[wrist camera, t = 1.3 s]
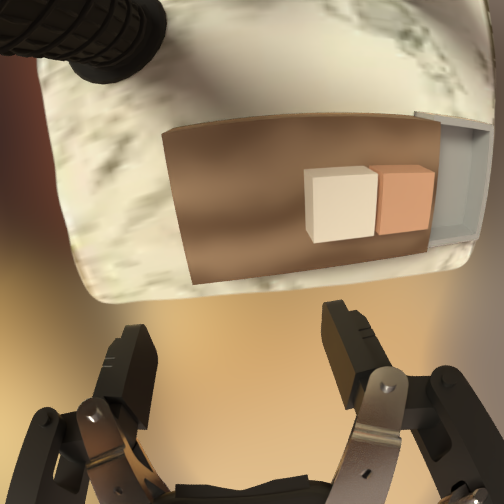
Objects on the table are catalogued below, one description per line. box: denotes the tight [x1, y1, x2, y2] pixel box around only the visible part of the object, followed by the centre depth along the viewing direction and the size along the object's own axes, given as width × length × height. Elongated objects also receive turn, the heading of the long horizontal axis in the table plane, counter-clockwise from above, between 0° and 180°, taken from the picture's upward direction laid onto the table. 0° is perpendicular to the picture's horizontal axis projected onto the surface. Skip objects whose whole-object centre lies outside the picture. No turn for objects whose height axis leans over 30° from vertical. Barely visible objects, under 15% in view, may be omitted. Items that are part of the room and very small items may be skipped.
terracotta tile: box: [369, 165, 435, 235], centre depth 22 cm, size 5×5×2 cm
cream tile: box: [304, 166, 378, 243], centre depth 22 cm, size 5×5×2 cm
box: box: [414, 111, 494, 248], centre depth 26 cm, size 14×10×4 cm
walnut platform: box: [162, 113, 441, 285], centre depth 25 cm, size 13×23×5 cm, turn 96°
